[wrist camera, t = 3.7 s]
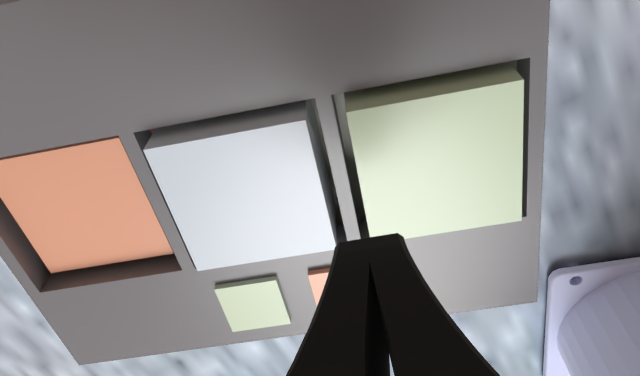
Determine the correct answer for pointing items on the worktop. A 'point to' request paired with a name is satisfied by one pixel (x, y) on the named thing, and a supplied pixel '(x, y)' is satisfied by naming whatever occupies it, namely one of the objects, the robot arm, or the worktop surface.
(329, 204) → the blue key
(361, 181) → the sage key
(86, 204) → the terracotta key
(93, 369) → the worktop surface
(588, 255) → the worktop surface
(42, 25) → the keypad
